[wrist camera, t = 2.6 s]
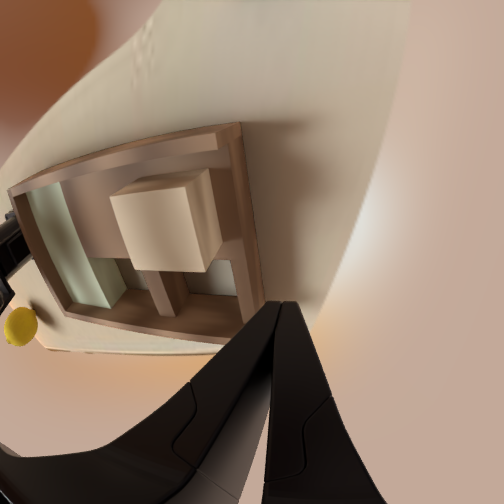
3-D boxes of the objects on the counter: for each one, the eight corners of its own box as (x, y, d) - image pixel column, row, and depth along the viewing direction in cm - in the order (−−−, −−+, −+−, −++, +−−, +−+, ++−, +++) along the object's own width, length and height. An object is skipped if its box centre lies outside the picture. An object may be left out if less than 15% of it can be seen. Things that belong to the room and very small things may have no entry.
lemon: (45, 328, 37) (21, 359, 31) (24, 307, 36) (-1, 337, 30) (45, 313, 34) (17, 348, 28) (23, 292, 33) (-6, 323, 27)
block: (158, 243, 18) (134, 269, 15) (139, 177, 15) (109, 196, 13) (222, 242, 17) (205, 272, 14) (208, 168, 14) (184, 187, 12)
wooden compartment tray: (87, 289, 28) (64, 316, 24) (40, 171, 20) (6, 189, 17) (265, 304, 23) (254, 347, 19) (240, 121, 15) (215, 132, 12)
